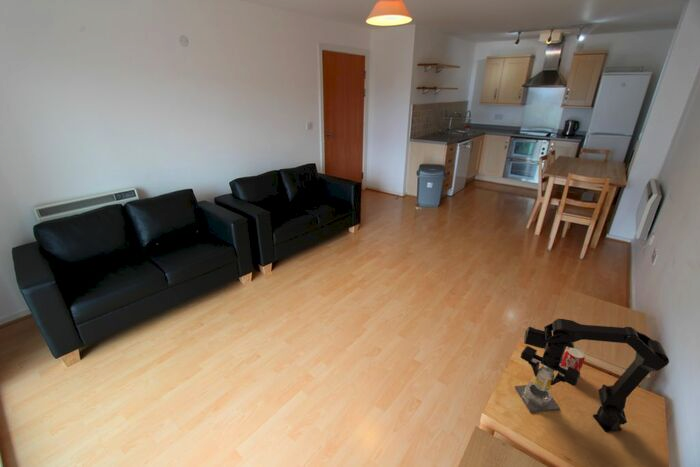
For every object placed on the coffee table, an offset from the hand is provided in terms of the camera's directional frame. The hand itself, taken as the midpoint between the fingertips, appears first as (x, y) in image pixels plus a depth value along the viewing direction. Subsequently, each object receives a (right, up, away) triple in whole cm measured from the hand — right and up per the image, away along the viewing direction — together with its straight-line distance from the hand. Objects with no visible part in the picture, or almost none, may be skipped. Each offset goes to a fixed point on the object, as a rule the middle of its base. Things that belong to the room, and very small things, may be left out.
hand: (543, 380), depth 126 cm
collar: (0, -10, +5) cm, 11 cm away
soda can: (+19, -4, +15) cm, 25 cm away
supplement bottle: (0, -3, +2) cm, 3 cm away
